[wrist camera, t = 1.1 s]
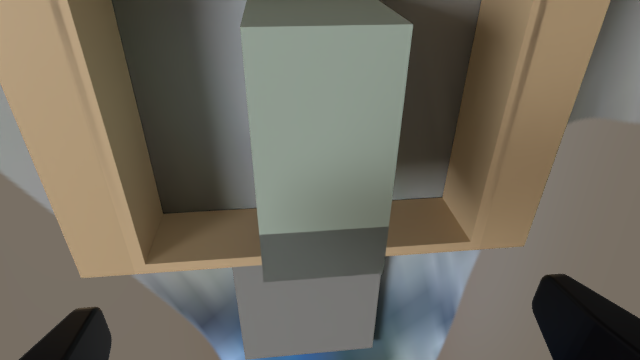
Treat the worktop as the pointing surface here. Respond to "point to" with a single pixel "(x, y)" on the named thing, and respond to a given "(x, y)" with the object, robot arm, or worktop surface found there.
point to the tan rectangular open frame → (242, 224)
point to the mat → (305, 313)
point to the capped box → (324, 131)
